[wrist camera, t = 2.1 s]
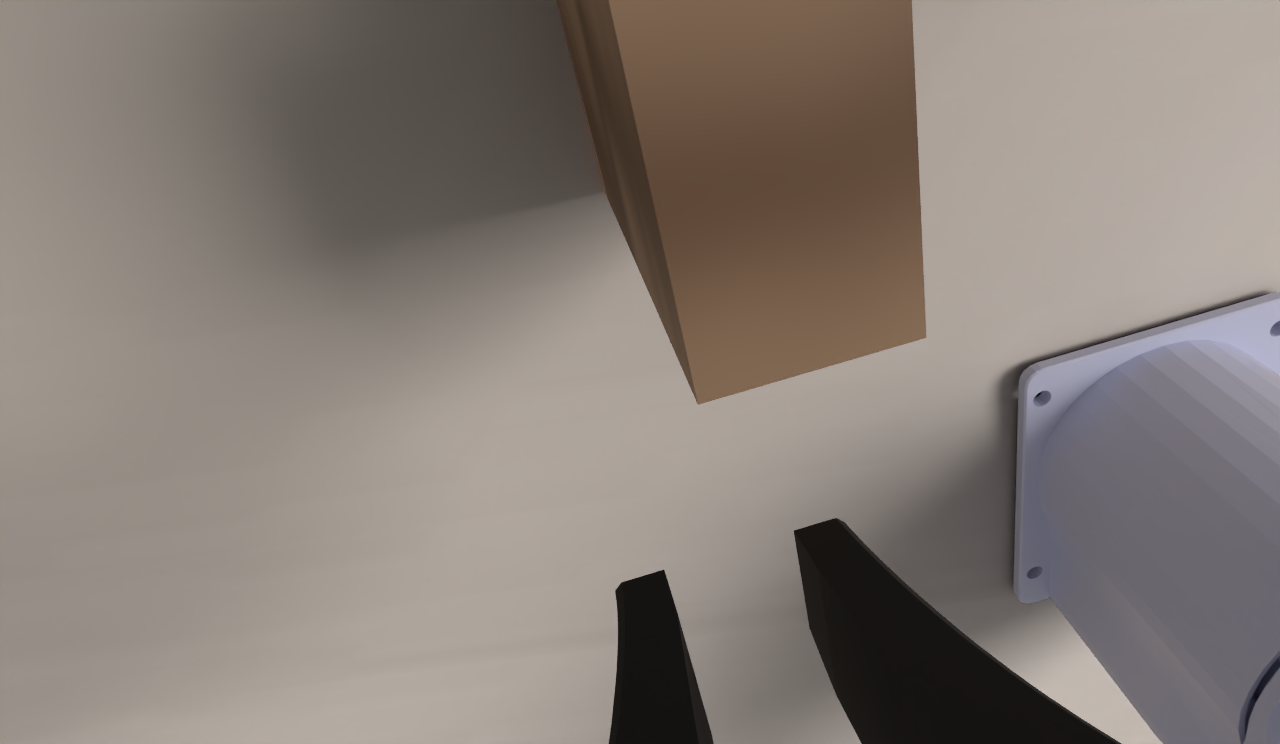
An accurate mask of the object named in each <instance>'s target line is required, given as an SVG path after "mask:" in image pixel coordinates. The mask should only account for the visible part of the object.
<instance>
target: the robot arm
mask: <svg viewBox="0 0 1280 744" xmlns="http://www.w3.org/2000/svg"><path fill="white" fill-rule="evenodd" d="M1040 392H1042V393H1041V394H1040V395H1039V396H1038V397H1036V398H1034V397H1035V396H1036V395H1037V394H1038V393H1040ZM794 535H795V541H796V547H797V553H798V559H799V565H800V572H801V578H802V584H803V590H804V596H805V602H806V608H807V614H808V621H809V627H810V630H811V633H812V635H813V638H814V640H815V643H816V645H817V648H818V650H819V653H820V655H821V658H822V661H823V663H824V666H825V668H826V670H827V673H828V675H829V678H830V680H831V683H832V685H833V688H834V690H835V693H836V695H837V697H838V699H839V701H840V703H841V705H842V707H843V709H844V711H845V713H846V714H847V716H848V718H849V720H850V722H851V724H852V726H853V728H854V730H855V732H856V734H857V735H858V737H859V739H860V741H861V743H862V744H1121V743H1119V742H1118V741H1116V740H1115V739H1113V738H1111V737H1110V736H1108V735H1107V734H1105V733H1103V732H1102V731H1100V730H1099V729H1097V728H1095V727H1094V726H1092V725H1091V724H1089V723H1087V722H1086V721H1084V720H1083V719H1081V718H1079V717H1078V716H1076V715H1075V714H1073V713H1072V712H1070V711H1069V710H1067V709H1066V708H1064V707H1063V706H1061V705H1060V704H1058V703H1057V702H1055V701H1054V700H1052V699H1051V698H1049V697H1048V696H1046V695H1045V694H1044V693H1042V692H1041V691H1039V690H1038V689H1036V688H1035V687H1034V686H1032V685H1031V684H1029V683H1028V682H1027V681H1025V680H1024V679H1022V678H1021V677H1020V676H1018V675H1017V674H1016V673H1014V672H1013V671H1011V670H1010V669H1009V668H1007V667H1006V666H1005V665H1004V664H1002V663H1001V662H1000V661H998V660H997V659H996V658H994V657H993V656H992V655H990V654H989V653H988V652H986V651H985V650H984V649H983V648H981V647H980V646H979V645H977V644H976V643H975V642H974V641H972V640H971V639H970V638H969V637H967V636H966V635H965V634H964V633H962V632H961V631H960V630H959V629H958V628H956V627H955V626H954V625H953V624H952V623H950V622H949V621H948V620H947V619H946V618H945V617H943V616H942V615H941V614H940V613H939V612H938V611H936V610H935V609H934V608H933V607H932V606H930V605H929V604H928V603H927V602H926V601H925V600H923V599H922V598H921V597H920V596H919V595H918V594H917V593H916V592H914V591H913V590H912V589H911V588H910V587H909V586H908V585H907V584H906V583H905V582H903V581H902V580H901V579H900V578H899V577H898V576H897V575H896V574H895V573H894V572H893V571H892V570H891V569H890V568H889V567H887V566H886V565H885V564H884V563H883V562H882V561H881V560H880V559H879V558H878V557H877V556H876V555H875V554H874V553H873V552H872V551H871V550H870V549H869V548H868V547H867V546H866V545H865V544H864V543H863V542H862V541H861V540H860V539H859V537H858V536H857V535H856V534H855V533H854V532H853V531H852V530H851V529H850V528H849V527H848V526H847V525H846V523H845V522H843V521H841V520H839V519H837V518H835V519H831V520H828V521H825V522H821V523H818V524H815V525H811V526H808V527H805V528H801V529H798V530H795V531H794ZM615 592H616V600H617V610H618V656H617V675H616V685H615V695H614V706H613V716H612V725H611V732H610V739H609V744H713V739H712V734H711V730H710V727H709V723H708V720H707V716H706V713H705V709H704V706H703V702H702V698H701V695H700V691H699V688H698V684H697V681H696V677H695V674H694V670H693V667H692V663H691V660H690V656H689V652H688V649H687V645H686V642H685V638H684V635H683V631H682V628H681V624H680V621H679V617H678V614H677V610H676V607H675V604H674V600H673V597H672V594H671V591H670V587H669V584H668V581H667V578H666V574H665V571H664V570H662V571H658V572H655V573H652V574H648V575H645V576H642V577H638V578H635V579H632V580H628V581H625V582H622V583H621V584H620V585H619V587H618V588H617V589H616V590H615ZM1014 594H1015V595H1016V597H1017V598H1018V600H1019V601H1020V602H1022V603H1024V604H1031V603H1035V602H1039V601H1042V600H1045V599H1048V598H1051V600H1052V601H1053V602H1054V603H1055V605H1056V606H1057V607H1058V609H1059V610H1060V611H1061V613H1062V614H1063V615H1064V616H1065V618H1066V619H1067V620H1068V622H1069V623H1070V624H1071V626H1072V627H1073V628H1074V630H1075V631H1076V632H1077V633H1078V635H1079V636H1080V637H1081V639H1082V640H1083V641H1084V643H1085V644H1086V645H1087V646H1088V648H1089V649H1090V650H1091V652H1092V653H1093V654H1094V656H1095V657H1096V658H1097V659H1098V661H1099V662H1100V663H1101V665H1102V666H1103V667H1104V669H1105V670H1106V671H1107V673H1108V674H1109V675H1110V676H1111V678H1112V679H1113V680H1114V682H1115V683H1116V684H1117V686H1118V687H1119V688H1120V689H1121V691H1122V692H1123V693H1124V695H1125V696H1126V697H1127V699H1128V700H1129V701H1130V702H1131V704H1132V705H1133V706H1134V708H1135V709H1136V710H1137V712H1138V713H1139V714H1140V716H1141V717H1142V718H1143V719H1144V721H1145V722H1146V723H1147V725H1148V726H1149V727H1150V729H1151V730H1152V731H1153V732H1154V734H1155V735H1156V736H1157V737H1158V739H1159V740H1160V741H1161V742H1162V743H1163V744H1280V292H1274V293H1270V294H1267V295H1264V296H1260V297H1257V298H1253V299H1250V300H1247V301H1243V302H1240V303H1237V304H1233V305H1230V306H1226V307H1223V308H1220V309H1216V310H1213V311H1210V312H1206V313H1203V314H1199V315H1196V316H1193V317H1189V318H1186V319H1183V320H1179V321H1176V322H1172V323H1169V324H1166V325H1162V326H1159V327H1156V328H1152V329H1149V330H1145V331H1142V332H1139V333H1135V334H1132V335H1128V336H1125V337H1122V338H1118V339H1115V340H1112V341H1108V342H1105V343H1101V344H1098V345H1095V346H1091V347H1088V348H1085V349H1081V350H1078V351H1074V352H1071V353H1068V354H1064V355H1061V356H1058V357H1054V358H1051V359H1047V360H1044V361H1041V362H1037V363H1035V364H1033V365H1030V366H1029V367H1028V368H1027V369H1025V370H1024V372H1023V373H1022V375H1021V376H1020V379H1019V393H1018V432H1017V472H1016V512H1015V551H1014Z"/></svg>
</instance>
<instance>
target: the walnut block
mask: <svg viewBox="0 0 1280 744" xmlns="http://www.w3.org/2000/svg"><path fill="white" fill-rule="evenodd" d="M557 3H558V7H559V11H560V15H561V19H562V23H563V27H564V31H565V35H566V39H567V43H568V47H569V51H570V55H571V59H572V63H573V67H574V71H575V75H576V79H577V83H578V87H579V91H580V95H581V99H582V103H583V107H584V111H585V115H586V118H587V122H588V126H589V130H590V134H591V138H592V142H593V146H594V150H595V154H596V158H597V162H598V166H599V170H600V174H601V178H602V182H603V186H604V190H605V193H606V195H607V198H608V200H609V202H610V205H611V207H612V209H613V211H614V214H615V216H616V218H617V221H618V223H619V225H620V227H621V230H622V232H623V234H624V237H625V239H626V241H627V243H628V246H629V248H630V250H631V253H632V255H633V257H634V259H635V262H636V264H637V266H638V269H639V271H640V273H641V275H642V278H643V280H644V282H645V285H646V287H647V289H648V291H649V294H650V296H651V298H652V301H653V303H654V305H655V307H656V310H657V312H658V314H659V317H660V319H661V321H662V323H663V326H664V328H665V330H666V333H667V335H668V337H669V339H670V342H671V344H672V346H673V349H674V351H675V353H676V355H677V358H678V360H679V362H680V364H681V367H682V369H683V371H684V374H685V376H686V378H687V380H688V383H689V385H690V387H691V390H692V392H693V394H694V396H695V399H696V401H697V403H698V404H702V403H705V402H708V401H712V400H715V399H719V398H722V397H725V396H729V395H732V394H736V393H739V392H742V391H746V390H749V389H753V388H756V387H760V386H763V385H766V384H770V383H773V382H777V381H780V380H783V379H787V378H790V377H794V376H797V375H800V374H804V373H807V372H811V371H814V370H817V369H821V368H824V367H828V366H831V365H835V364H838V363H841V362H845V361H848V360H852V359H855V358H858V357H862V356H865V355H869V354H872V353H875V352H879V351H882V350H886V349H889V348H892V347H896V346H899V345H903V344H906V343H910V342H913V341H916V340H920V339H923V338H926V322H925V298H924V275H923V252H922V229H921V206H920V183H919V160H918V137H917V114H916V91H915V67H914V44H913V21H912V0H557Z"/></svg>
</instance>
